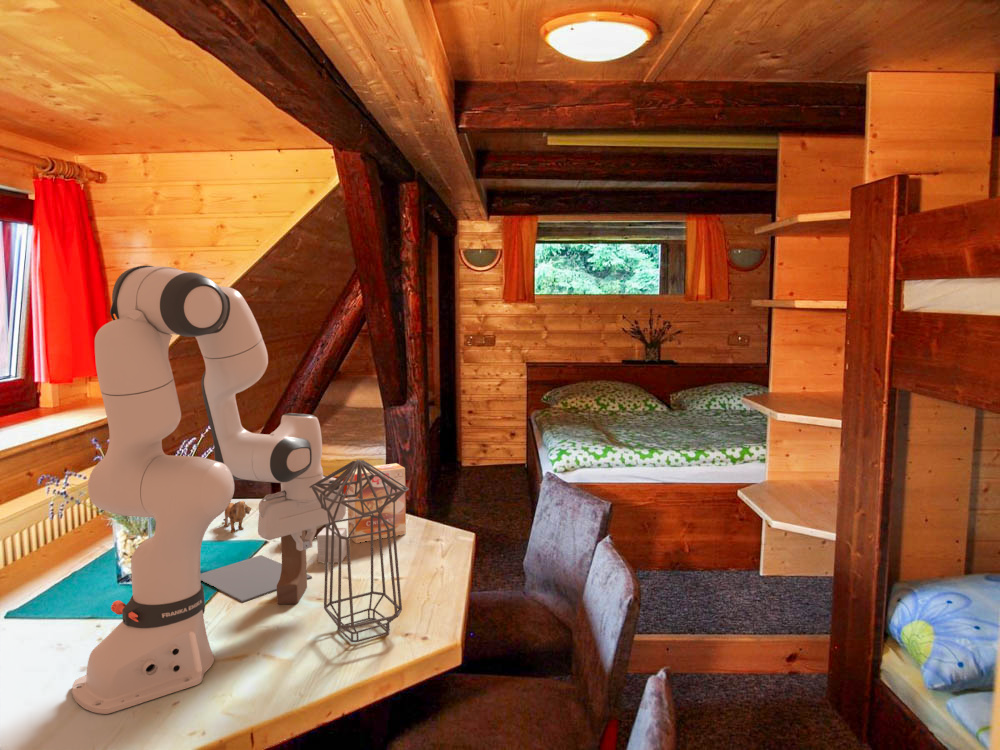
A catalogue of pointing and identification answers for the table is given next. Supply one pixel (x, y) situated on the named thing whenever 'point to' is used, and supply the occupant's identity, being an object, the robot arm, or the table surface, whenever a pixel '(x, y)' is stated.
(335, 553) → the product box
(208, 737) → the table surface
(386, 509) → the coffeecake box
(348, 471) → the geometric lantern
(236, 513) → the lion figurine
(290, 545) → the wooden block
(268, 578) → the mat
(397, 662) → the table surface
